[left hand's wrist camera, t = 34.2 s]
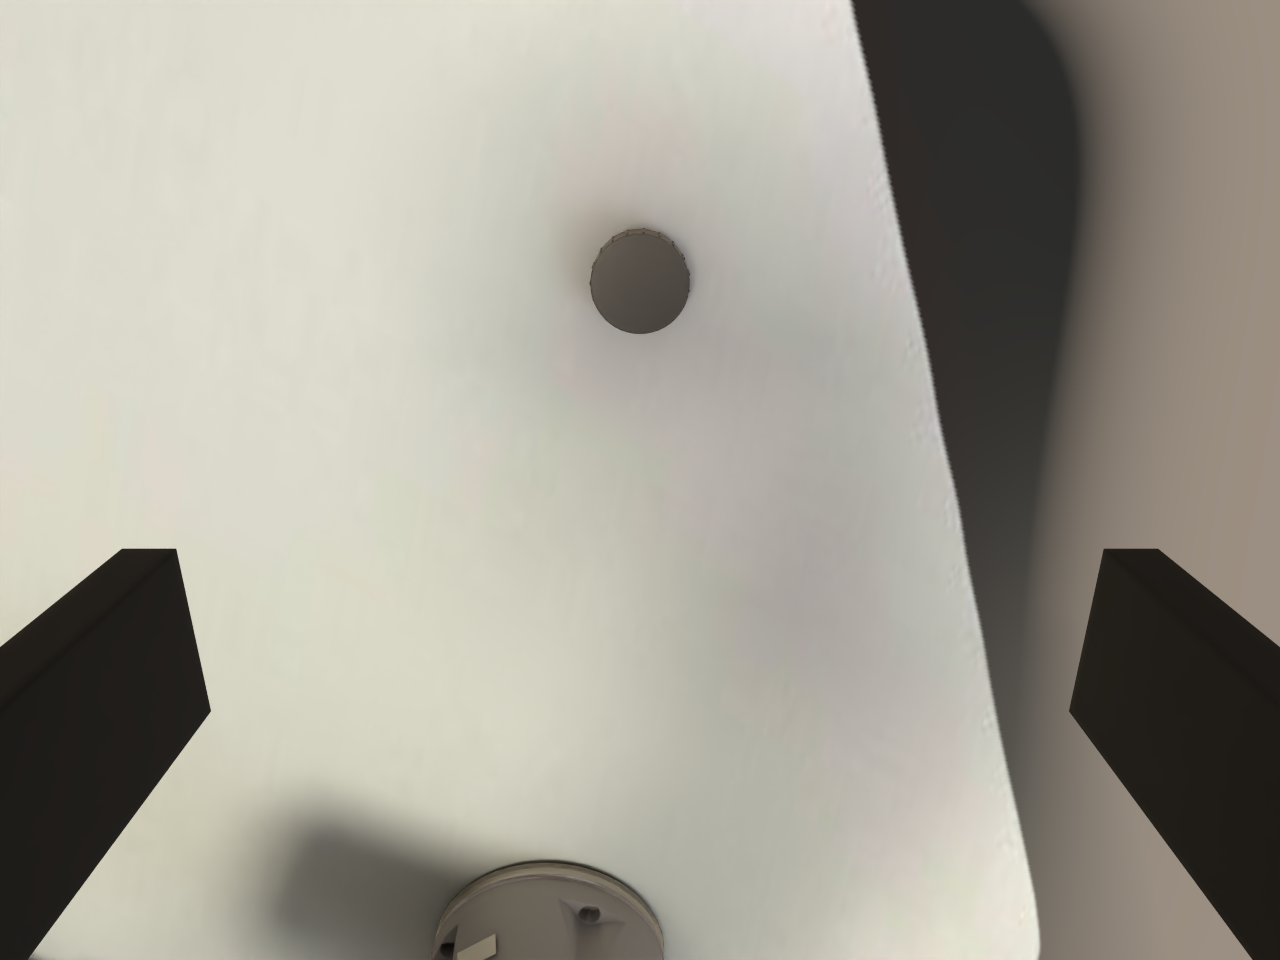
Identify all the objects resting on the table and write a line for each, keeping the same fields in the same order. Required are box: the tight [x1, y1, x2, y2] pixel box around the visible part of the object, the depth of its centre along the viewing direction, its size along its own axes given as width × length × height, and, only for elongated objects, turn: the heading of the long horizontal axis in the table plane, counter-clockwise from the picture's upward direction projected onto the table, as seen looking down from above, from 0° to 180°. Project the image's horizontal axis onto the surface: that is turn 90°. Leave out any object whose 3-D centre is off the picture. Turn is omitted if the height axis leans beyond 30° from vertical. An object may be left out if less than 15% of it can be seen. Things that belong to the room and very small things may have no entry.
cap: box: [590, 228, 690, 334], centre depth 42 cm, size 5×5×2 cm
